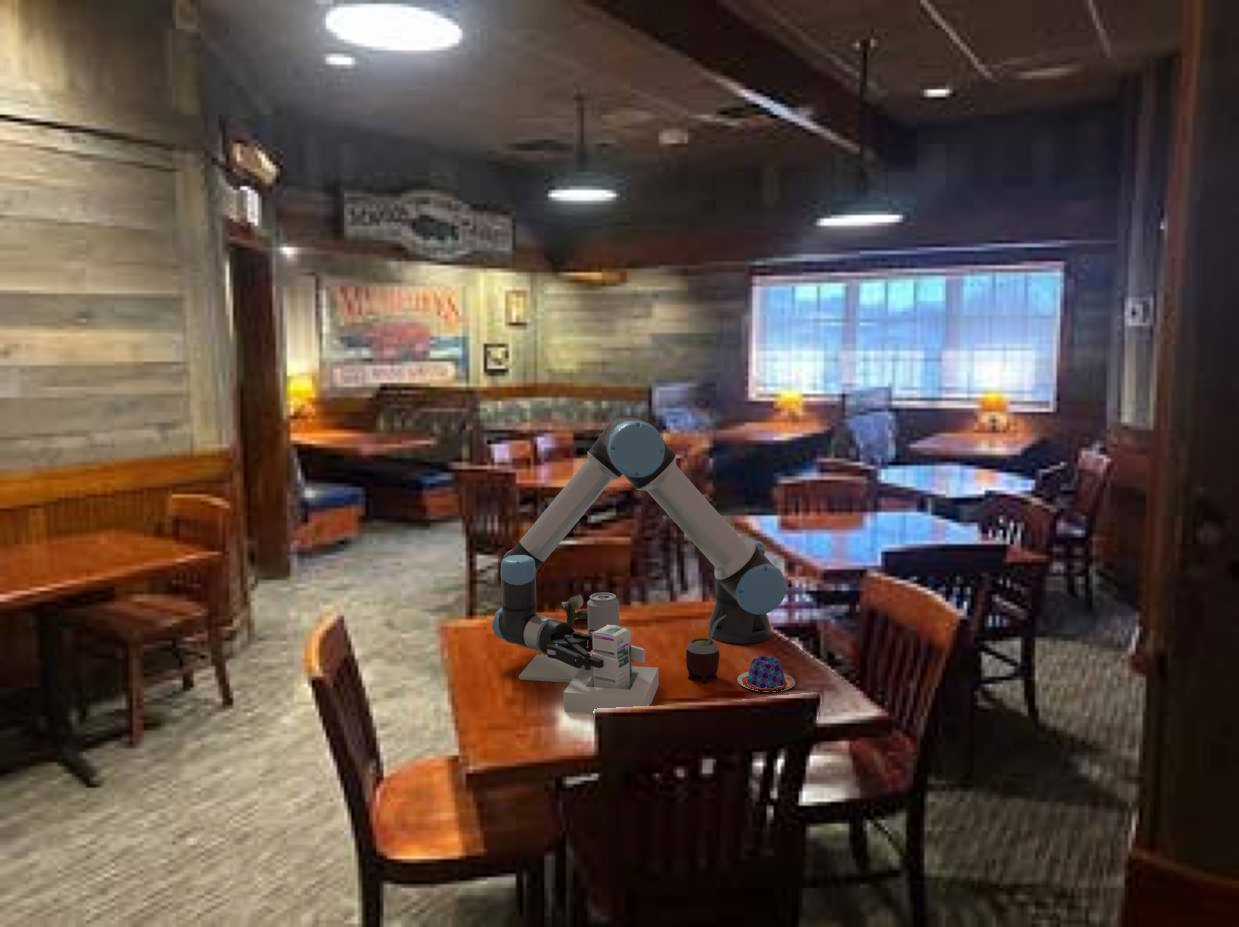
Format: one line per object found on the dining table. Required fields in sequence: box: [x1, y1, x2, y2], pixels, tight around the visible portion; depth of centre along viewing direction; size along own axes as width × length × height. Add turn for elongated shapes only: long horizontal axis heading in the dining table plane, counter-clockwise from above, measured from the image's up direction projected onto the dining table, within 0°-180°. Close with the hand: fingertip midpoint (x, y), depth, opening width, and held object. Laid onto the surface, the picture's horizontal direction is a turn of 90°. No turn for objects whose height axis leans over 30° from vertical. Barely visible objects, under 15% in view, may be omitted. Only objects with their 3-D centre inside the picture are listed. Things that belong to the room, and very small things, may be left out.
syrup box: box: [592, 625, 633, 690], centre depth 180 cm, size 6×6×14 cm
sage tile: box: [518, 654, 579, 684], centre depth 197 cm, size 13×13×1 cm
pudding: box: [737, 655, 796, 693], centre depth 188 cm, size 12×12×5 cm
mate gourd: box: [685, 615, 727, 685], centre depth 190 cm, size 8×8×15 cm
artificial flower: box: [561, 594, 588, 626], centre depth 226 cm, size 9×22×10 cm, turn 111°
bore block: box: [563, 665, 659, 715], centre depth 181 cm, size 16×16×4 cm
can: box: [586, 592, 620, 634], centre depth 212 cm, size 8×8×12 cm
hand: (630, 661), depth 176 cm, fingers open, 7 cm apart
